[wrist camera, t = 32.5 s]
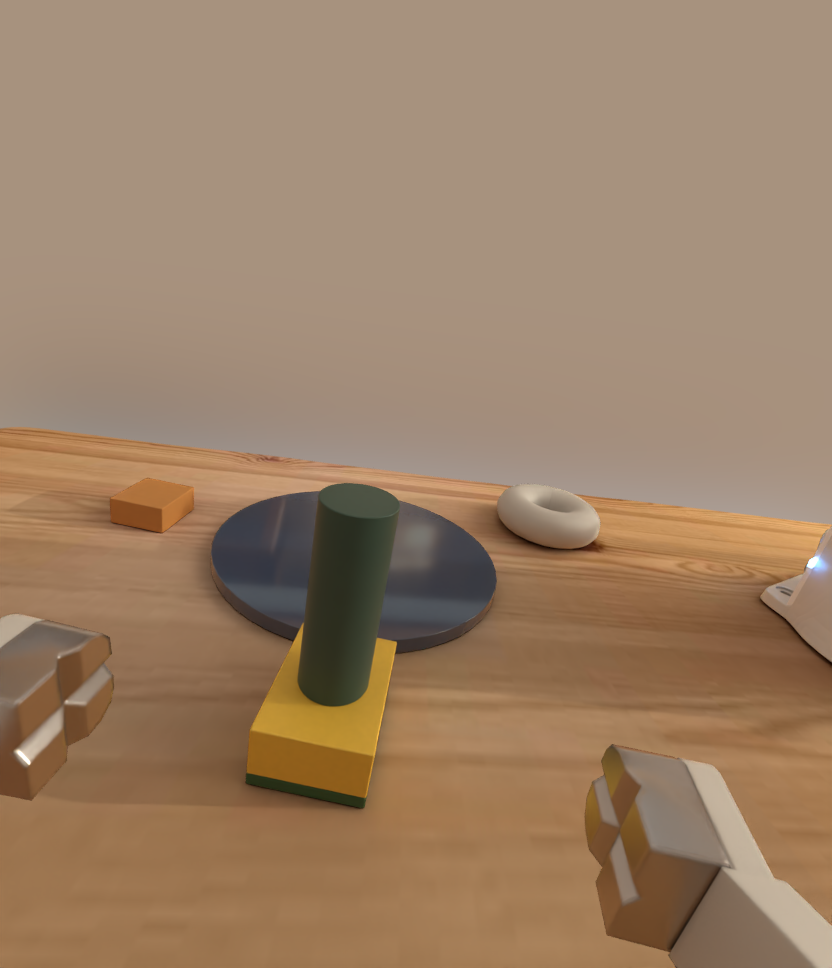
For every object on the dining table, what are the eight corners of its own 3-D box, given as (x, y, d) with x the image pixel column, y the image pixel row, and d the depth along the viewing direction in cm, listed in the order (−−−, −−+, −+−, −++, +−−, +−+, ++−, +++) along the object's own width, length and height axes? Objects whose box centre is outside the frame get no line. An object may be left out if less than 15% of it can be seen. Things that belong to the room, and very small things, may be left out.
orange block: (193, 509, 42) (194, 487, 41) (162, 533, 37) (162, 509, 37) (147, 499, 42) (146, 477, 41) (110, 522, 38) (109, 498, 37)
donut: (506, 550, 45) (612, 561, 46) (514, 515, 44) (623, 527, 45) (484, 503, 54) (573, 514, 55) (491, 473, 53) (582, 485, 54)
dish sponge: (297, 667, 27) (321, 459, 23) (388, 686, 27) (429, 480, 23) (244, 784, 21) (263, 524, 17) (363, 809, 21) (414, 555, 16)
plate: (376, 487, 53) (378, 478, 52) (547, 590, 39) (550, 579, 39) (163, 527, 38) (163, 515, 38) (320, 710, 25) (322, 694, 25)
